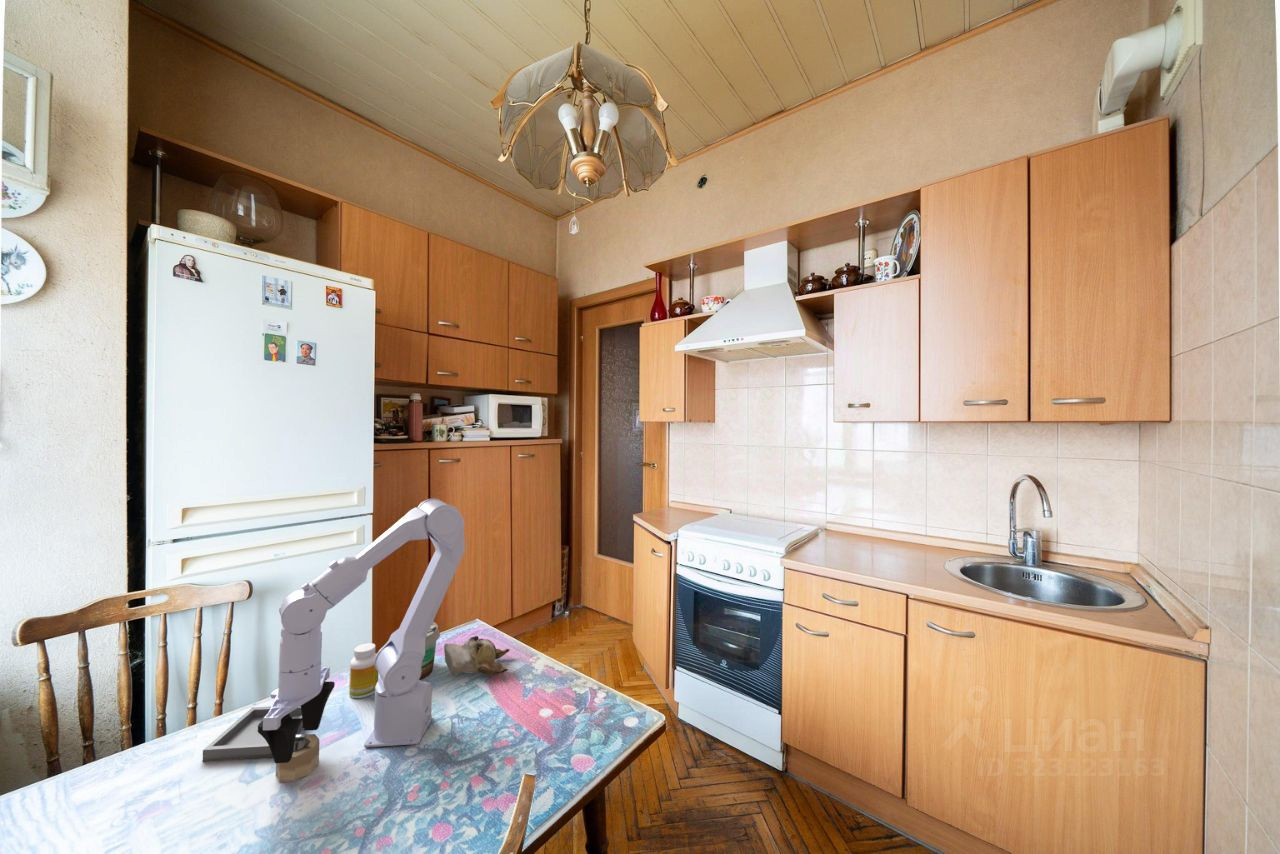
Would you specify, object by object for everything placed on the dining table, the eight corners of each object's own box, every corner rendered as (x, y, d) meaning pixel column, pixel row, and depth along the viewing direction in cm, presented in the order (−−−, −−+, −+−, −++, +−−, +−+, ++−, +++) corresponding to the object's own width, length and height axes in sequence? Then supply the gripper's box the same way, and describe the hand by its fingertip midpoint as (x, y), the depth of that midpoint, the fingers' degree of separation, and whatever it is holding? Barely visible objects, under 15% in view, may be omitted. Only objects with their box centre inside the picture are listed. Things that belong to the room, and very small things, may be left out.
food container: (415, 691, 98) (416, 646, 98) (390, 687, 99) (392, 642, 99) (449, 662, 110) (451, 622, 110) (427, 659, 111) (428, 619, 111)
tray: (315, 714, 89) (316, 704, 89) (276, 757, 78) (277, 745, 78) (252, 717, 88) (252, 707, 88) (202, 761, 76) (202, 749, 76)
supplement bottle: (380, 693, 97) (381, 648, 97) (351, 702, 94) (352, 656, 94) (375, 681, 101) (376, 639, 101) (347, 690, 98) (348, 646, 98)
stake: (307, 764, 76) (308, 731, 76) (301, 772, 75) (302, 739, 75) (293, 765, 76) (294, 732, 76) (287, 773, 74) (288, 739, 74)
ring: (324, 756, 78) (324, 733, 78) (305, 780, 73) (305, 755, 73) (290, 758, 78) (291, 735, 78) (269, 782, 72) (269, 758, 72)
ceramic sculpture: (448, 627, 110) (511, 625, 114) (445, 662, 110) (508, 659, 114) (440, 648, 100) (510, 646, 103) (437, 687, 100) (507, 683, 103)
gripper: (301, 643, 82) (298, 717, 82) (242, 690, 68) (238, 779, 68) (342, 642, 83) (340, 715, 83) (292, 688, 69) (289, 776, 69)
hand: (297, 744), depth 75 cm, fingers open, 7 cm apart
